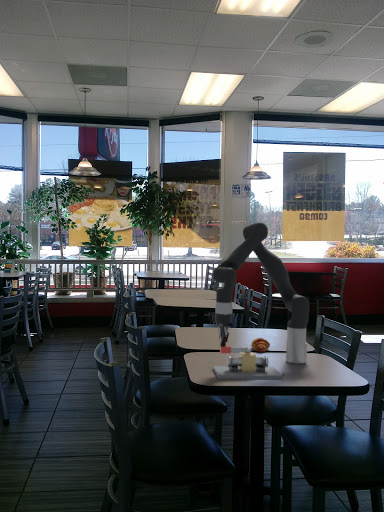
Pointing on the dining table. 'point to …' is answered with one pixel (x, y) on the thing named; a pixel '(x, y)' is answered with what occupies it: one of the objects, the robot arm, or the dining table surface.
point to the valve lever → (234, 349)
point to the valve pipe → (247, 363)
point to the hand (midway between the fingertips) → (222, 350)
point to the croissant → (260, 344)
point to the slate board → (225, 373)
